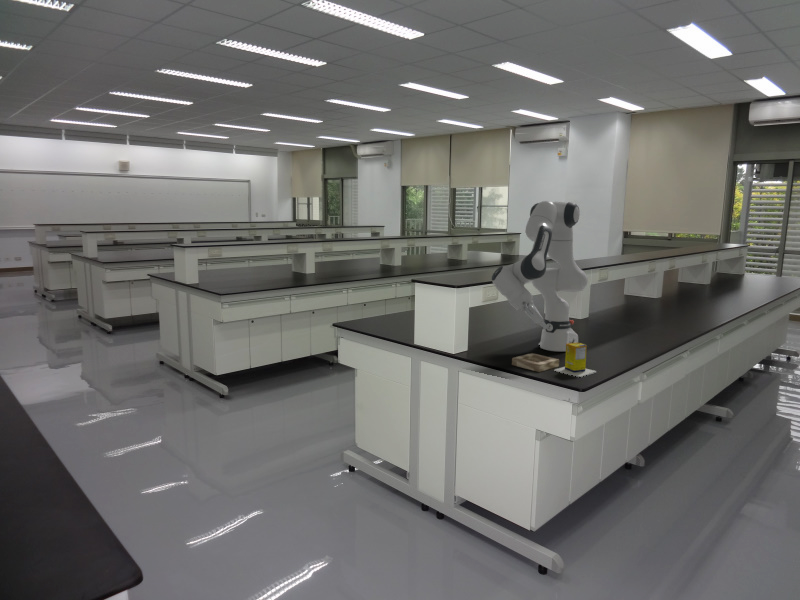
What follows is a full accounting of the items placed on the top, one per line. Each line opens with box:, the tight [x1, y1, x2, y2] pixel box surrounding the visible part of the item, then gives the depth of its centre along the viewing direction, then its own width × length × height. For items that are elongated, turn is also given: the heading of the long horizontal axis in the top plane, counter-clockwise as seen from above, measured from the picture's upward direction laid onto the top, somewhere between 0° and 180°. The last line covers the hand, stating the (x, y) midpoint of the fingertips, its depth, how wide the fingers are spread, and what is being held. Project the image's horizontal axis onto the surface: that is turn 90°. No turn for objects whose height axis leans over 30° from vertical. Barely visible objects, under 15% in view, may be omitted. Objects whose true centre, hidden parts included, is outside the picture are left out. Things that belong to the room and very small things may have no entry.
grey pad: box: [553, 366, 597, 378], centre depth 219 cm, size 12×12×1 cm
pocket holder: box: [511, 352, 560, 373], centre depth 228 cm, size 14×14×3 cm
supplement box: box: [564, 341, 588, 372], centre depth 219 cm, size 6×6×11 cm
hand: (544, 325), depth 219 cm, fingers open, 8 cm apart
